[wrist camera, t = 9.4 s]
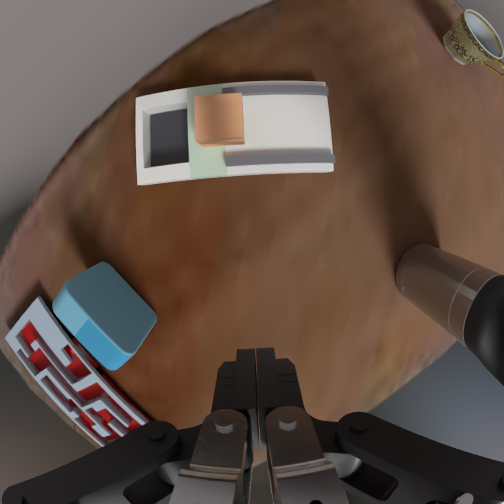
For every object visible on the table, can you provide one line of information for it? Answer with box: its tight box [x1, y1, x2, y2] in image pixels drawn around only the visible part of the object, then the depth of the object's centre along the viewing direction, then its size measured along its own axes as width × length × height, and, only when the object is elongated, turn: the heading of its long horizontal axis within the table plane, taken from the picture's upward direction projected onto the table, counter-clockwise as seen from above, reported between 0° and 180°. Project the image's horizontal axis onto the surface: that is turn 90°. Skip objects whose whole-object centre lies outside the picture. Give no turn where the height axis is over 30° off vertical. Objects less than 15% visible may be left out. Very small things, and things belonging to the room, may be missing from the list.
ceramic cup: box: [443, 9, 504, 76], centre depth 25 cm, size 13×10×10 cm
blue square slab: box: [52, 262, 157, 370], centre depth 33 cm, size 12×4×12 cm, turn 42°
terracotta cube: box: [194, 93, 245, 147], centre depth 29 cm, size 5×5×5 cm
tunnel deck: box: [136, 81, 336, 185], centre depth 32 cm, size 24×12×4 cm, turn 93°
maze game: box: [5, 296, 151, 447], centre depth 42 cm, size 35×20×3 cm, turn 34°
